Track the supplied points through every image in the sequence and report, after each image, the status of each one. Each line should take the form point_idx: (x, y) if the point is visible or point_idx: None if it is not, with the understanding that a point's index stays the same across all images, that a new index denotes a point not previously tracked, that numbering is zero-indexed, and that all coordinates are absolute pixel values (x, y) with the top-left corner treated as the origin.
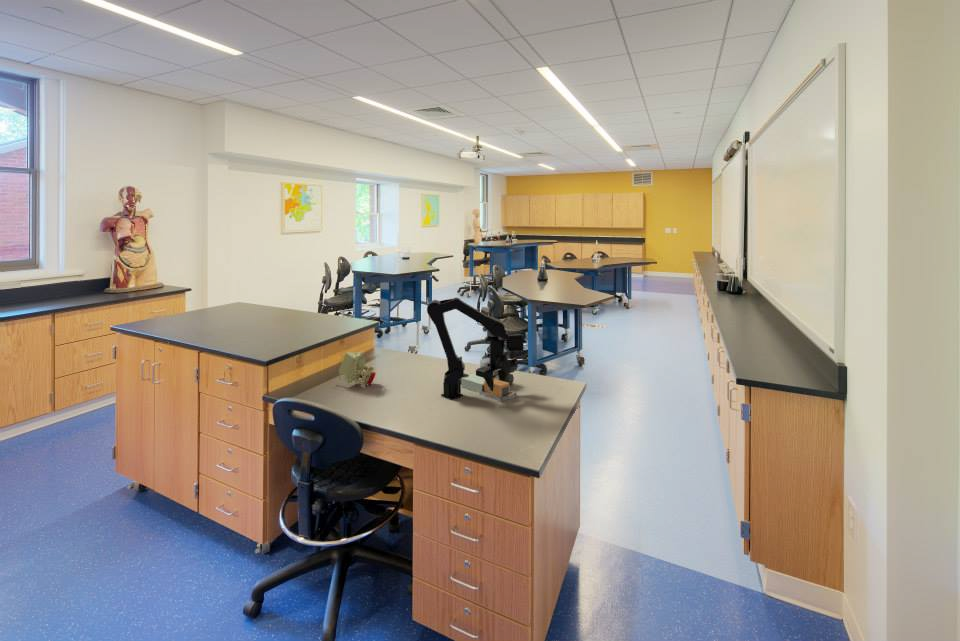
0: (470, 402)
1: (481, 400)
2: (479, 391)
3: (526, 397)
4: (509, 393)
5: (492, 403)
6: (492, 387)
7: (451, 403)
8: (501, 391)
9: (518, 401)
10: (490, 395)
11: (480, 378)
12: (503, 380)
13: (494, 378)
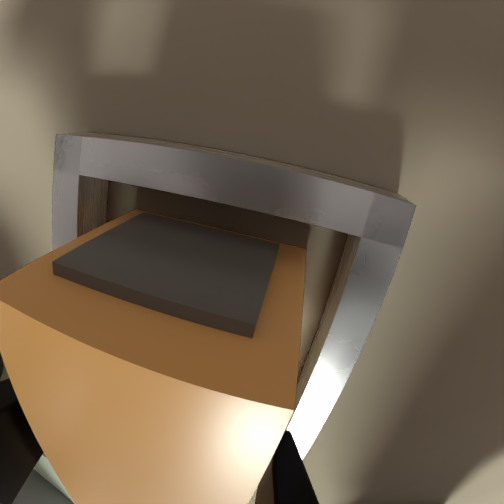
0: (475, 435)
1: (417, 407)
2: None
3: (72, 25)
4: None
5: (472, 280)
6: (296, 477)
7: (494, 478)
8: (284, 306)
9: (234, 3)
10: (335, 397)
11: None
12: (11, 415)
13: (38, 461)
